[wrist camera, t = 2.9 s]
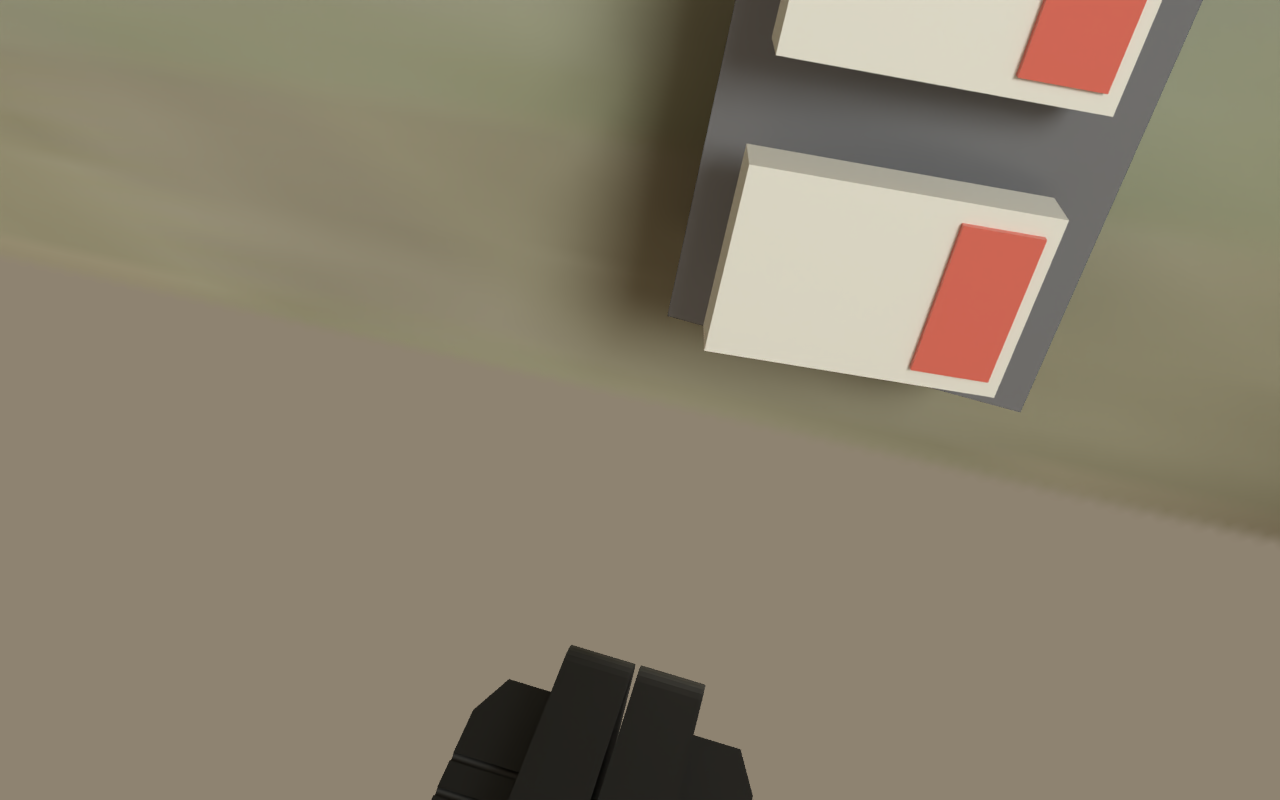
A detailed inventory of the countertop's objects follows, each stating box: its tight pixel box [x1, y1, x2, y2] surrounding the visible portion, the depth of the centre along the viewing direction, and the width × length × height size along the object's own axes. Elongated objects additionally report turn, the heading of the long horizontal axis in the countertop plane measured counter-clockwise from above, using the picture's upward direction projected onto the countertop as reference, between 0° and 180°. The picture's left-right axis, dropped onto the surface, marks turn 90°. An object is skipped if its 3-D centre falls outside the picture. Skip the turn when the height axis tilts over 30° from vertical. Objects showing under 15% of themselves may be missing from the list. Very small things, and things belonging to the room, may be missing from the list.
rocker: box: [703, 144, 1069, 398], centre depth 22 cm, size 6×4×1 cm, turn 80°
